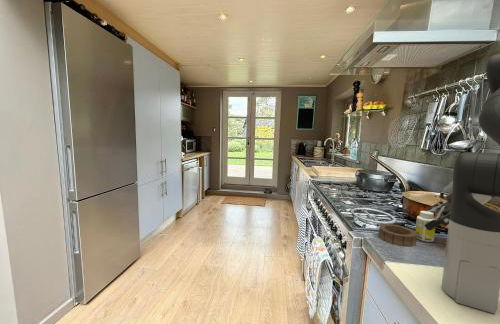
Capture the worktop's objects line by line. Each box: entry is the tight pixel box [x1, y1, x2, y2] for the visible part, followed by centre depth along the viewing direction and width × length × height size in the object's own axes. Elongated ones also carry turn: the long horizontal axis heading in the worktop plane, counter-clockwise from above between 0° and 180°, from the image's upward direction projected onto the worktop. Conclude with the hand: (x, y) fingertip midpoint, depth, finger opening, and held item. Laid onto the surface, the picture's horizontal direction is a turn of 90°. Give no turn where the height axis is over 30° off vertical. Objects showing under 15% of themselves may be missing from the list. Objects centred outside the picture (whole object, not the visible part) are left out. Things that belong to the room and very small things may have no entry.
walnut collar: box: [378, 223, 417, 247], centre depth 81 cm, size 11×11×4 cm
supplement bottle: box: [415, 210, 436, 243], centre depth 82 cm, size 6×6×10 cm
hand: (423, 224), depth 82 cm, fingers open, 8 cm apart
